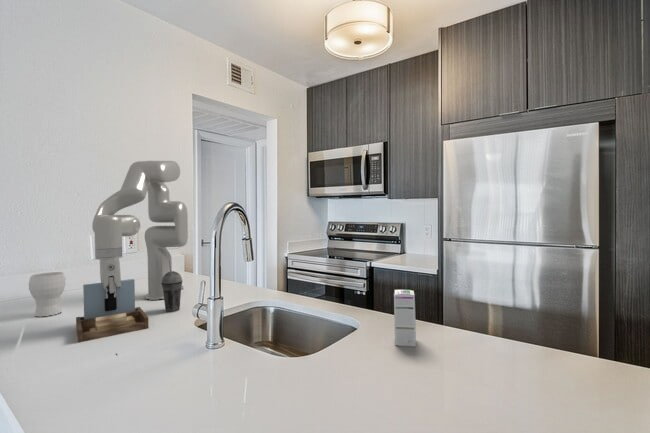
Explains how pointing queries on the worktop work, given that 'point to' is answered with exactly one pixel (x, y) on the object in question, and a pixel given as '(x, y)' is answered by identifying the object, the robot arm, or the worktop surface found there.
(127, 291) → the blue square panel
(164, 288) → the beverage cup
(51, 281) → the cup
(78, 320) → the rack
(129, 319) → the offcut middle
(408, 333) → the syrup box
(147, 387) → the worktop surface
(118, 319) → the offcut top
